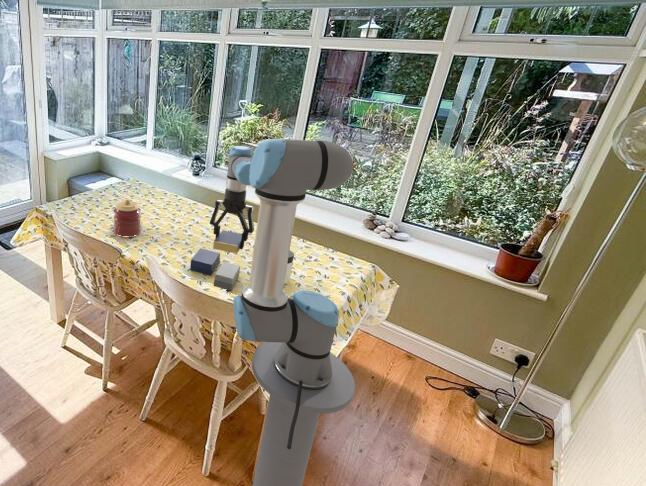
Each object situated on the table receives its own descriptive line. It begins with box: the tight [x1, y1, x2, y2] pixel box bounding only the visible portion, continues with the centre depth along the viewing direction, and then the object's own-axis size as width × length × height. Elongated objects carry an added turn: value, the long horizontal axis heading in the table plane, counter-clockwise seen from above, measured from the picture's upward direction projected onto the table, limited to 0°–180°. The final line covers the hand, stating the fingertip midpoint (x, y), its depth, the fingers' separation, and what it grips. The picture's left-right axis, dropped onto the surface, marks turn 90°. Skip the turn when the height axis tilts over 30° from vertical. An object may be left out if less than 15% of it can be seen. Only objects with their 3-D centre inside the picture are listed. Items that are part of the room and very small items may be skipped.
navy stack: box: [189, 247, 221, 277], centre depth 171 cm, size 12×9×5 cm
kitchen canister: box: [113, 198, 142, 236], centre depth 197 cm, size 13×13×18 cm
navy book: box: [212, 229, 246, 255], centre depth 156 cm, size 12×9×3 cm
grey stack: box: [212, 261, 241, 292], centre depth 160 cm, size 12×7×5 cm, turn 153°
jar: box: [284, 249, 295, 285], centre depth 162 cm, size 9×8×12 cm
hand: (229, 245), depth 157 cm, fingers closed on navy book, 9 cm apart
